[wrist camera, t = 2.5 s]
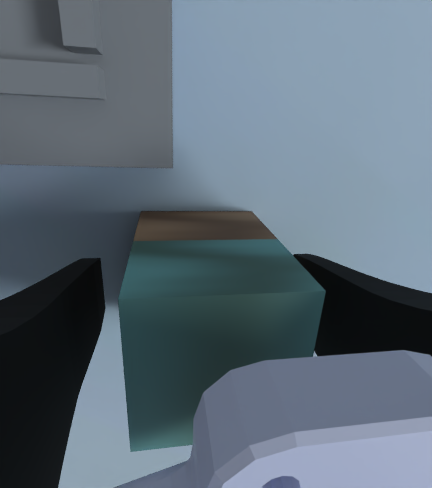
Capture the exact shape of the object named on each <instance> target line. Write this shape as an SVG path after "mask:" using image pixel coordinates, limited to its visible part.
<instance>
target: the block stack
mask: <svg viewBox="0 0 432 488" xmlns="http://www.w3.org/2000/svg"><path fill="white" fill-rule="evenodd" d="M325 293H326V291H325V290H324V288H323V287H322V286H321V285H320V284H319V283H318V282H317V281H316V280H315V279H314V278H313V277H312V276H311V275H310V273H309V272H308V271H307V270H306V269H305V268H304V267H303V266H302V265H301V264H300V263H299V262H298V261H297V259H296V258H295V257H294V256H293V255H292V254H291V253H290V252H289V251H288V250H287V249H286V248H285V247H284V245H283V244H282V243H281V242H280V241H279V240H278V239H277V238H276V237H275V236H274V235H273V234H272V233H271V232H270V230H269V229H268V228H267V227H266V226H265V225H264V224H263V223H262V222H261V221H260V220H259V219H258V218H257V216H256V215H255V214H254V213H253V212H252V211H141V213H140V217H139V221H138V225H137V229H136V232H135V236H134V240H133V244H132V248H131V252H130V255H129V259H128V263H127V267H126V271H125V275H124V278H123V282H122V286H121V290H120V294H119V298H118V305H119V317H120V329H121V341H122V353H123V366H124V378H125V390H126V402H127V414H128V426H129V438H130V450H131V452H133V451H142V450H151V449H159V448H168V447H177V446H186V445H193V418H194V416H195V413H196V410H197V408H198V405H199V403H200V400H201V397H202V395H203V392H204V391H206V390H207V389H208V388H209V387H210V386H212V385H213V384H214V383H215V382H217V381H218V380H219V379H220V378H221V377H223V376H224V375H225V374H226V373H228V372H229V371H230V370H233V369H236V368H240V367H243V366H247V365H250V364H253V363H257V362H260V361H265V360H277V359H290V358H304V357H313V353H314V348H315V343H316V338H317V333H318V328H319V323H320V318H321V313H322V308H323V303H324V298H325Z"/></svg>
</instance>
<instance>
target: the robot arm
mask: <svg viewBox="0 0 432 488" xmlns="http://www.w3.org/2000/svg"><path fill="white" fill-rule="evenodd" d="M293 256H294V257H295V258H296V259H297V261H298V262H299V263H300V264H301V265H302V266H303V267H304V268H305V269H306V270H307V271H308V272H309V273H310V275H311V276H312V277H313V278H314V279H315V280H316V281H317V282H318V283H319V284H320V285H321V286H322V287H323V288H324V290H325V291H326V293H325V298H324V303H323V308H322V313H321V318H320V323H319V328H318V333H317V338H316V343H315V348H314V351H315V353H316V354H317V357H304V358H290V359H277V360H265V361H260V362H257V363H253V364H250V365H247V366H243V367H240V368H236V369H233V370H230V371H229V372H228V373H226V374H225V375H224V376H223V377H221V378H220V379H219V380H218V381H217V382H215V383H214V384H213V385H212V386H210V387H209V388H208V389H207V390H206V391H204V392H203V395H202V397H201V400H200V403H199V405H198V408H197V410H196V413H195V416H194V418H193V447H192V451H191V456H190V458H189V460H187V461H185V462H183V463H180V464H177V465H174V466H172V467H169V468H166V469H163V470H161V471H158V472H155V473H153V474H150V475H147V476H144V477H142V478H139V479H136V480H133V481H131V482H128V483H125V484H122V485H120V486H117V487H114V488H432V293H428V292H423V291H419V290H415V289H411V288H407V287H404V286H400V285H397V284H393V283H390V282H387V281H383V280H380V279H378V278H375V277H372V276H369V275H366V274H363V273H361V272H358V271H355V270H353V269H350V268H348V267H345V266H343V265H340V264H338V263H335V262H332V261H330V260H327V259H325V258H322V257H319V256H315V255H311V254H294V255H293ZM104 313H105V299H104V289H103V279H102V269H101V260H100V258H84V259H80V260H77V261H75V262H73V263H72V264H70V265H68V266H66V267H65V268H63V269H61V270H59V271H58V272H56V273H54V274H52V275H51V276H49V277H47V278H45V279H43V280H41V281H40V282H38V283H36V284H34V285H32V286H30V287H28V288H26V289H24V290H22V291H20V292H18V293H16V294H14V295H12V296H9V297H7V298H5V299H2V300H0V488H58V485H59V480H60V475H61V470H62V465H63V460H64V455H65V451H66V446H67V442H68V437H69V433H70V428H71V424H72V420H73V415H74V411H75V407H76V403H77V399H78V395H79V392H80V389H81V386H82V383H83V380H84V377H85V374H86V372H87V369H88V366H89V363H90V360H91V358H92V355H93V352H94V349H95V346H96V344H97V341H98V338H99V335H100V332H101V328H102V323H103V318H104Z"/></svg>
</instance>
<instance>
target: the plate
mask: <svg viewBox="0 0 432 488" xmlns="http://www.w3.org/2000/svg"><path fill="white" fill-rule="evenodd" d="M0 164H5V165H48V166H91V167H135V168H173V134H172V0H0Z"/></svg>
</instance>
